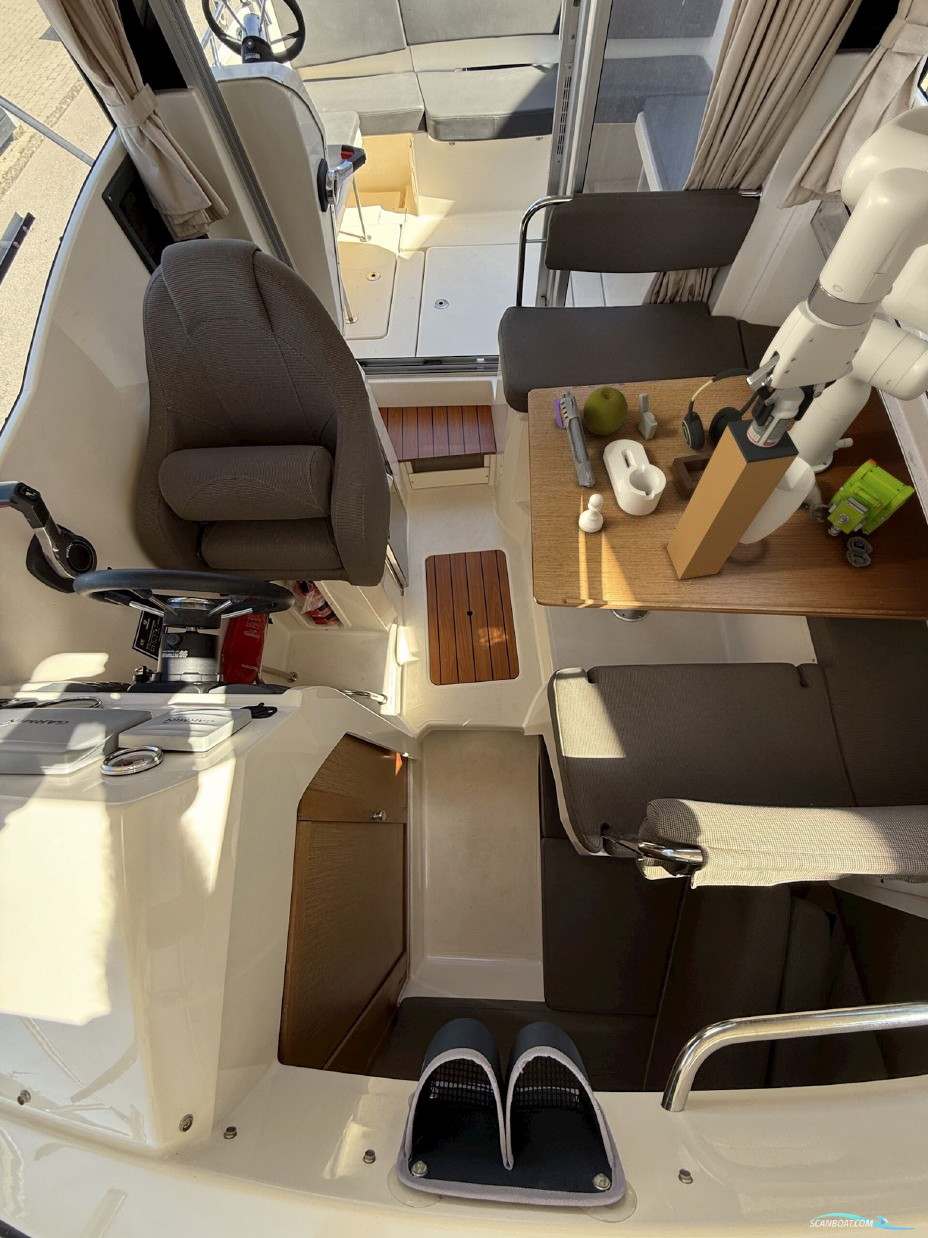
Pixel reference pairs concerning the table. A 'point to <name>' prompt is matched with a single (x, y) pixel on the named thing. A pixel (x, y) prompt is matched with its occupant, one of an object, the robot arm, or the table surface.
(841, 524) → the lime green boxy piece
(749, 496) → the black-topped square pillar
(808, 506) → the rhino figurine
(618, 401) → the apple
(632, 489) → the bracket
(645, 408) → the grey angled piece
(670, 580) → the table surface
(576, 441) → the handgun
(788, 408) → the pill bottle
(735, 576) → the table surface
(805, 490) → the cup
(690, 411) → the headphones
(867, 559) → the corroded twin loop
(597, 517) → the chess pawn
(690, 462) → the holder
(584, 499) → the table surface
